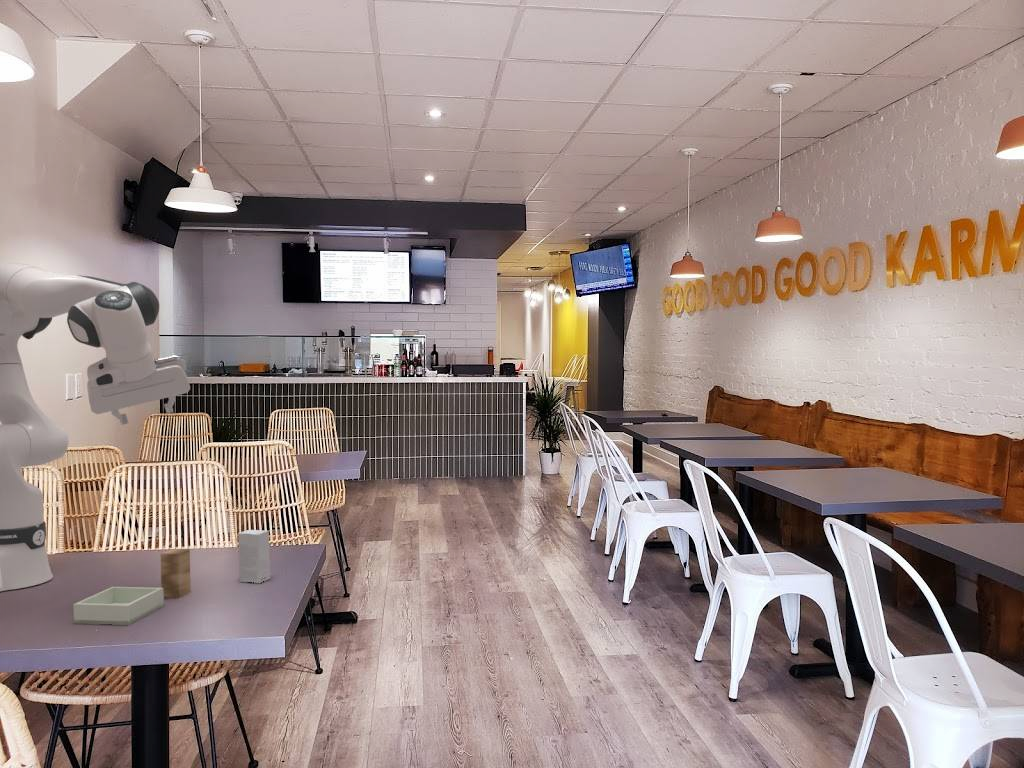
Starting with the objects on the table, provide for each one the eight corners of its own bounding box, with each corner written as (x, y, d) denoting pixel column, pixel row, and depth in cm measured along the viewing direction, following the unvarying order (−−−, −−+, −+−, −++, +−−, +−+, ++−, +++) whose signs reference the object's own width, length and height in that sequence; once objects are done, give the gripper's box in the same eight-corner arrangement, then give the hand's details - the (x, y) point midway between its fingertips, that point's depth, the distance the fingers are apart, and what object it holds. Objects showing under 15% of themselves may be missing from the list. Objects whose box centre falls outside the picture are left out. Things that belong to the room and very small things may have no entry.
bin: (73, 623, 151) (73, 604, 151) (112, 604, 163) (112, 586, 162) (128, 625, 149) (127, 605, 149) (163, 606, 161) (163, 587, 161)
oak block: (161, 597, 167) (160, 553, 167) (172, 591, 172) (171, 548, 171) (179, 597, 167) (178, 553, 167) (190, 592, 171) (189, 549, 171)
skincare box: (270, 579, 181) (269, 530, 180) (259, 584, 177) (258, 534, 176) (249, 577, 182) (248, 529, 182) (238, 582, 178) (237, 532, 178)
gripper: (180, 347, 166) (193, 398, 173) (79, 369, 157) (96, 422, 164) (186, 359, 162) (198, 412, 169) (81, 382, 153) (99, 437, 160)
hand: (147, 417), depth 167 cm, fingers open, 8 cm apart
